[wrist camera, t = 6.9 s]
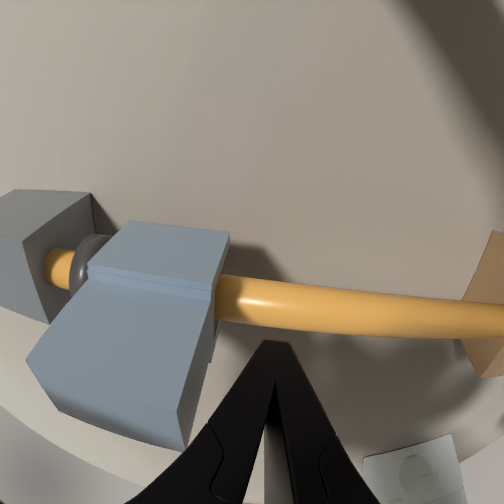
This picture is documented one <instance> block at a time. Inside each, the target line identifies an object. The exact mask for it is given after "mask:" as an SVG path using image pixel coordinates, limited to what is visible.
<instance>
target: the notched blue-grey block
mask: <svg viewBox="0 0 504 504" xmlns="http://www.w3.org/2000/svg"><path fill="white" fill-rule="evenodd" d="M229 241H230V232H222V231H214V230H206V229H198V228H190V227H181V226H173V225H164V224H155V223H147V222H138V221H129V222H128V223H127V224H125V225H124V226H123V227H122V228H121V229H120V230H119V231H118V232H117V233H116V234H115V235H114V236H113V237H112V238H111V239H110V240H109V241H108V242H107V243H106V244H105V245H104V246H103V247H102V248H101V249H100V250H99V251H98V252H97V253H96V254H95V255H94V256H93V257H92V259H91V260H90V261H89V262H88V263H87V265H88V269H87V274H88V280H87V281H86V282H85V283H84V284H83V285H82V287H81V288H80V289H79V290H78V291H77V293H76V294H75V295H74V296H73V297H72V299H71V300H70V301H69V302H68V304H67V305H66V306H65V307H64V308H63V310H62V311H61V312H60V314H59V315H58V316H57V317H56V319H55V320H54V321H53V322H52V324H51V325H50V326H49V328H48V329H47V330H46V332H45V333H44V334H43V336H42V337H41V338H40V340H39V341H38V342H37V344H36V345H35V347H34V348H33V349H32V351H31V352H30V354H29V355H28V356H27V358H26V359H25V360H26V362H27V364H28V366H29V367H30V369H31V371H32V372H33V374H34V375H35V377H36V379H37V380H38V382H39V383H40V385H41V386H42V388H43V389H44V391H45V392H46V394H47V395H48V397H49V398H50V399H51V401H52V402H53V404H54V405H55V406H56V408H57V409H58V411H60V412H62V413H65V414H67V415H69V416H71V417H74V418H76V419H79V420H81V421H83V422H86V423H88V424H91V425H94V426H96V427H99V428H102V429H104V430H107V431H110V432H113V433H116V434H119V435H122V436H125V437H128V438H131V439H134V440H137V441H141V442H144V443H148V444H151V445H155V446H159V447H163V448H167V449H171V450H175V451H180V452H184V451H185V450H186V449H187V446H188V442H189V438H190V434H191V430H192V426H193V422H194V418H195V414H196V410H197V406H198V402H199V398H200V394H201V390H202V386H203V382H204V378H205V374H206V371H207V367H208V363H211V360H212V356H213V352H214V348H215V344H216V340H217V336H218V332H219V329H220V325H221V321H222V320H215V319H214V301H215V288H216V285H217V282H218V279H219V276H220V273H221V270H222V267H223V264H224V261H225V258H226V255H227V252H228V249H229Z"/></svg>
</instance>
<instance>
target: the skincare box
mask: <svg viewBox="0 0 504 504" xmlns="http://www.w3.org/2000/svg"><path fill="white" fill-rule="evenodd" d="M362 476H363V480H364V481H365V483H366V484H367V485H368V487H369V488H370V490H371V491H372V492H373V494H374V495H375V496H376V498H377V499H378V501H379V502H380V503H381V504H467V501H466V496H465V491H464V485H463V481H462V476H461V472H460V467H459V463H458V459H457V455H456V451H455V447H454V443H453V437H452V434H451V433H450V434H447V435H444V436H442V437H439V438H436V439H433V440H430V441H427V442H424V443H421V444H417V445H414V446H410V447H407V448H403V449H400V450H396V451H392V452H388V453H383V454H379V455H374V456H369V457H365V458H364V460H363V468H362Z"/></svg>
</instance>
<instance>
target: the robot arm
mask: <svg viewBox="0 0 504 504" xmlns="http://www.w3.org/2000/svg"><path fill="white" fill-rule="evenodd" d="M263 430H264V504H381V503H380V502H379V501H378V499H377V498H376V496H375V495H374V494H373V492H372V491H371V490H370V488H369V487H368V485H367V484H366V483H365V481H364V480H363V478H362V477H361V476H360V474H359V473H358V471H357V470H356V468H355V467H354V465H353V463H352V462H351V460H350V458H349V457H348V455H347V453H346V451H345V450H344V448H343V446H342V444H341V442H340V440H339V438H338V436H335V435H336V432H335V431H334V429H333V427H332V425H331V423H330V421H329V419H328V417H327V415H326V413H325V411H324V409H323V407H322V405H321V403H320V401H319V399H318V397H317V395H316V393H315V391H314V389H313V387H312V385H311V383H310V382H309V380H308V378H307V376H306V374H305V372H304V370H303V368H302V366H301V364H300V362H299V360H298V358H297V356H296V354H295V352H294V350H293V348H292V346H291V344H290V342H288V341H283V340H275V339H267V338H265V339H263V341H262V342H261V344H260V345H259V347H258V348H257V350H256V351H255V353H254V354H253V356H252V357H251V359H250V360H249V362H248V363H247V365H246V366H245V368H244V369H243V371H242V372H241V374H240V375H239V377H238V378H237V380H236V381H235V383H234V384H233V386H232V387H231V389H230V390H229V392H228V393H227V395H226V396H225V397H224V399H223V400H222V402H221V403H220V405H219V406H218V408H217V409H216V410H215V412H214V413H213V415H212V416H211V417H210V419H209V420H208V423H206V424H205V426H204V427H203V428H202V430H201V431H200V432H199V434H198V435H197V436H196V438H195V439H194V440H193V441H192V443H191V444H190V445H189V446H188V447H187V449H186V450H185V451H184V452H183V453H182V454H181V455H180V456H179V457H178V458H177V459H176V460H175V461H174V462H173V463H172V464H171V465H170V466H169V467H168V468H167V469H166V470H165V471H164V472H163V473H162V474H160V475H159V476H158V477H157V478H156V479H155V480H154V481H153V482H152V483H151V484H150V485H148V486H147V487H146V488H145V489H144V490H143V491H142V492H140V493H139V494H138V495H137V496H135V497H134V498H132V499H131V500H129V501H128V502H126V503H124V504H242V503H243V500H244V497H245V493H246V490H247V487H248V483H249V480H250V477H251V473H252V470H253V466H254V463H255V459H256V456H257V452H258V449H259V445H260V441H261V438H262V434H263ZM0 504H5V503H4V502H2V501H1V500H0Z"/></svg>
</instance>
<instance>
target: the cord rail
mask: <svg viewBox="0 0 504 504" xmlns="http://www.w3.org/2000/svg"><path fill="white" fill-rule="evenodd" d="M112 237H113V236H110V235H103V234H95V229H94V222H93V214H92V206H91V197H90V193H87V192H68V191H47V190H16V189H14V190H13V191H11V192H9V193H7V194H6V195H4V196H2V197H0V306H2V307H4V308H7V309H9V310H12V311H14V312H16V313H19V314H22V315H24V316H27V317H29V318H32V319H35V320H37V321H40V322H43V323H46V324H48V325H50V324H51V323H52V321H53V320H54V319H55V317H56V316H57V315H58V314H59V312H60V311H61V310H62V309H63V307H64V306H65V305H66V304H67V302H68V301H69V300H70V299H72V297H73V296H74V295H75V294H76V293H77V291H78V290H79V289H80V288H81V287H82V285H83V284H84V283H85V282H86V281H87V280H88V274H87V269H88V265H87V263H88V262H89V261H90V260H91V259H92V257H93V256H94V255H95V254H96V253H97V252H98V251H99V250H100V249H101V248H102V247H103V246H104V245H105V244H106V243H107V242H108V241H109V240H110V239H111V238H112ZM214 319H215V320H222V321H228V322H235V323H242V324H250V325H257V326H265V327H273V328H282V329H291V330H300V331H310V332H321V333H332V334H345V335H359V336H375V337H395V338H426V339H460V341H461V343H462V345H463V347H464V349H465V351H466V353H467V355H468V357H469V359H470V361H471V363H472V365H473V367H474V369H475V372H476V374H477V376H478V378H479V379H481V378H488V377H495V376H501V375H504V233H500V232H497V231H492V234H491V237H490V239H489V242H488V244H487V247H486V249H485V252H484V254H483V256H482V259H481V261H480V263H479V266H478V268H477V270H476V272H475V275H474V277H473V279H472V281H471V283H470V285H469V287H468V289H467V291H466V293H465V295H464V297H463V299H462V301H459V300H447V299H436V298H425V297H414V296H404V295H394V294H384V293H374V292H365V291H356V290H347V289H338V288H329V287H320V286H312V285H304V284H296V283H287V282H280V281H272V280H264V279H256V278H249V277H241V276H234V275H227V274H220V276H219V279H218V282H217V285H216V288H215V301H214Z"/></svg>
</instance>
